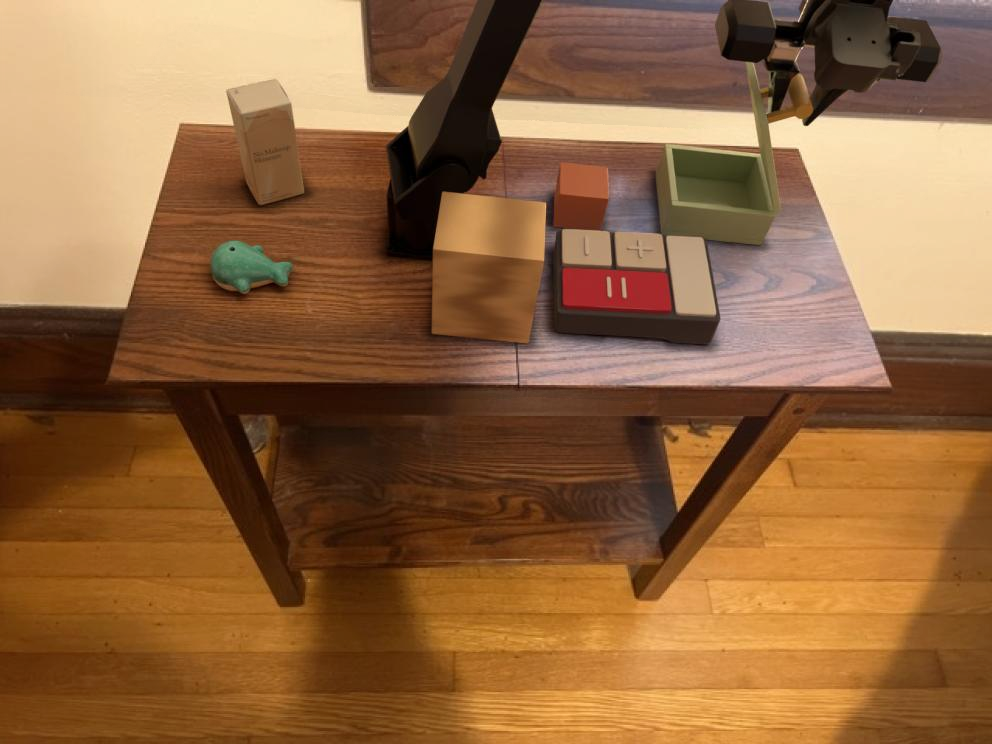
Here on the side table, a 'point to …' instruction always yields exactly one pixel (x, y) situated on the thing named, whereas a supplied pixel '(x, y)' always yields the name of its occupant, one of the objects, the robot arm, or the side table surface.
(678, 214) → the chest
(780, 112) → the lid
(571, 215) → the block
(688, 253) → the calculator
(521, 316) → the stand
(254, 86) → the box
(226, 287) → the whale figurine
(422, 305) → the side table surface
